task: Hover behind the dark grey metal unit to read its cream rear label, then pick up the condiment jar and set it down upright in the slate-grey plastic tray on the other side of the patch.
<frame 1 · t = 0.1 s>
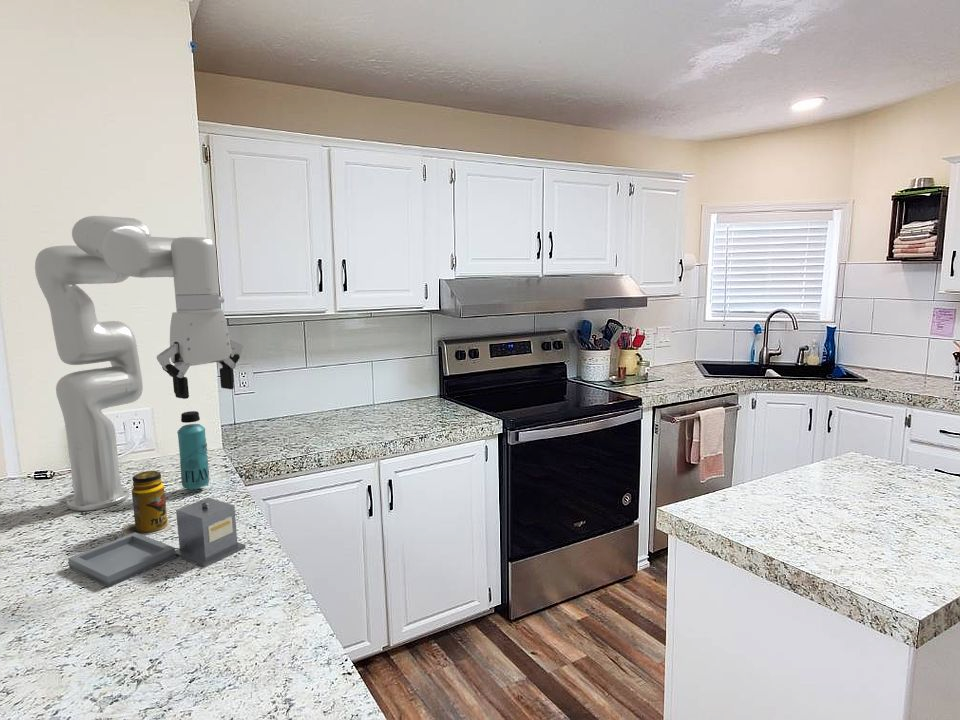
hand: (205, 392, 114), 31 cm above the worktop, fingers open, 9 cm apart
tray: (123, 562, 112), on the worktop
unit: (209, 551, 116), on the worktop
beverage bottle: (196, 490, 148), on the worktop
condiment: (147, 529, 127), on the worktop
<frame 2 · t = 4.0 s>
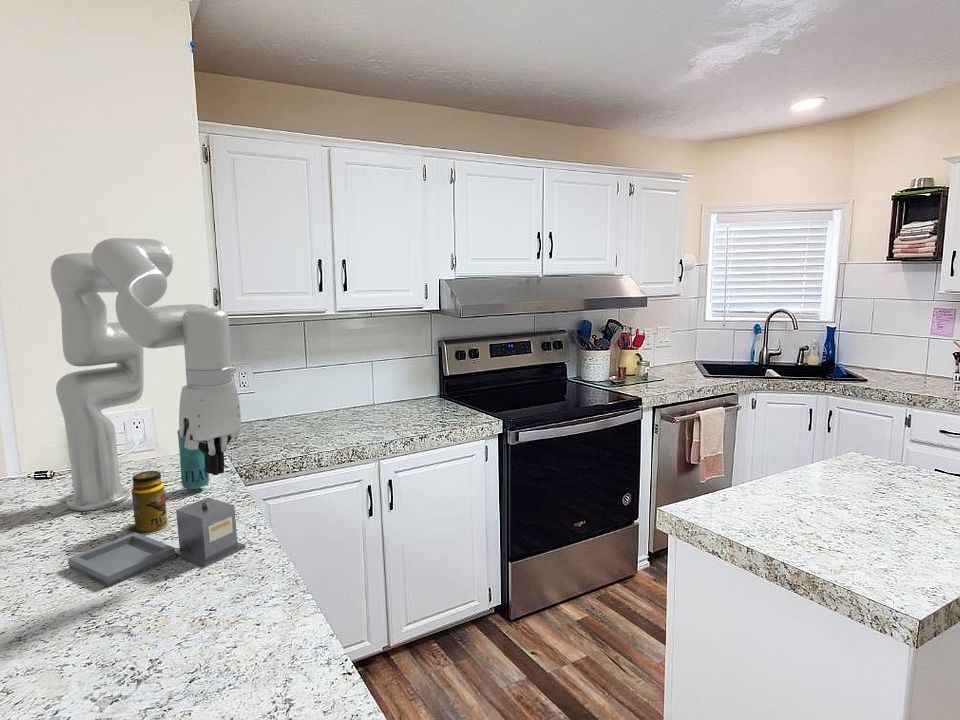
hand: (215, 472, 111), 17 cm above the worktop, fingers closed
nothing on the worktop moved.
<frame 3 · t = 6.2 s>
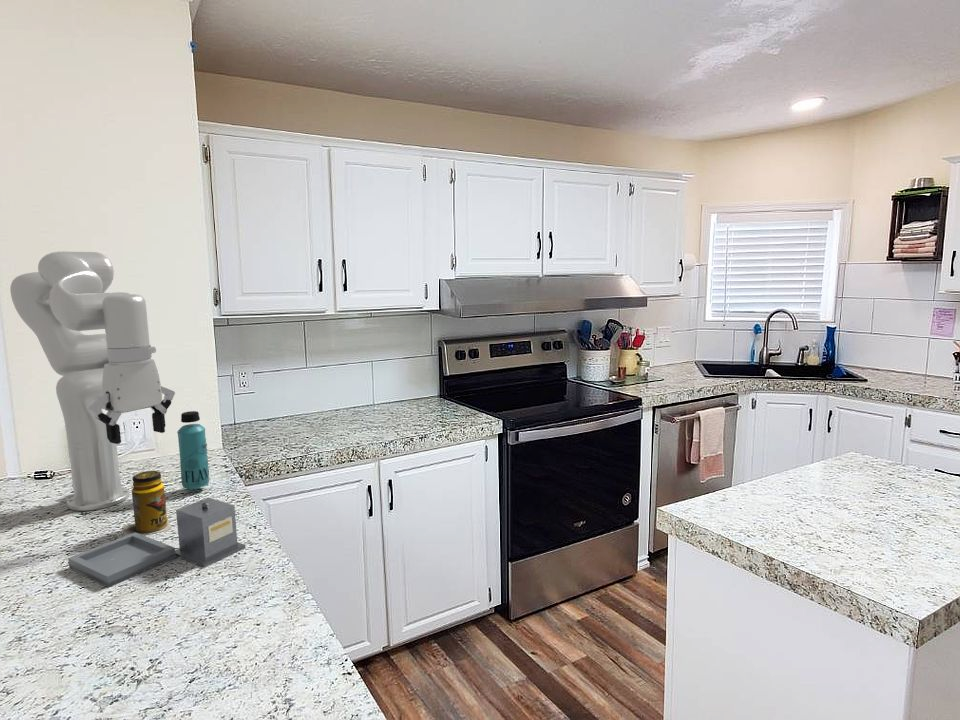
hand: (137, 437, 124), 20 cm above the worktop, fingers open, 8 cm apart
nothing on the worktop moved.
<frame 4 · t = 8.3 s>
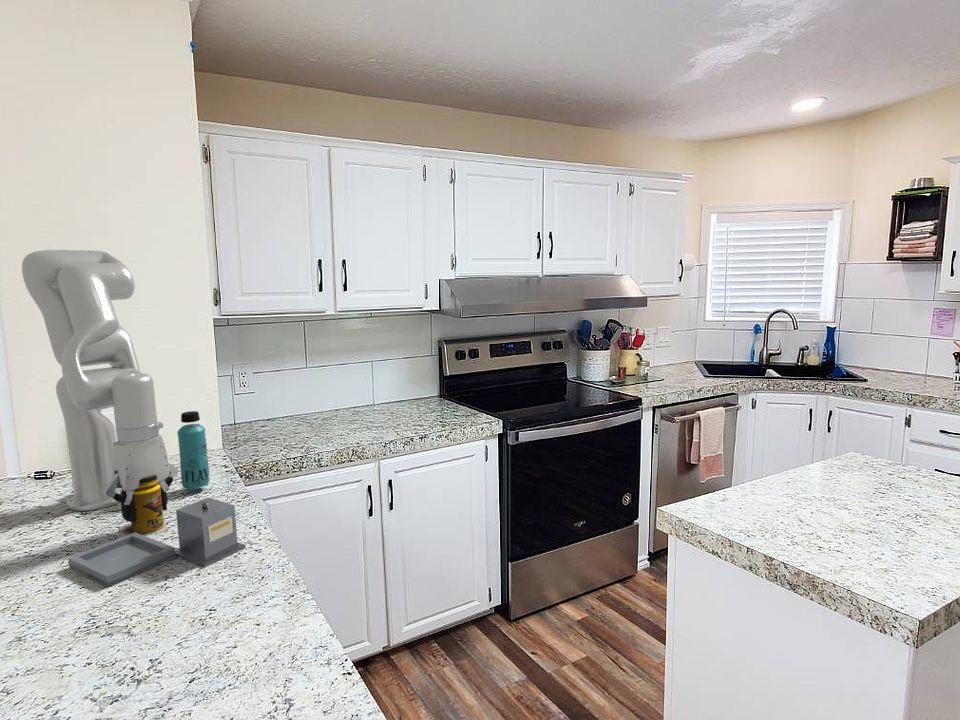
hand: (145, 514, 126), 3 cm above the worktop, fingers closed on condiment, 6 cm apart
condiment: (143, 530, 126), on the worktop, touching gripper
everything else where it was.
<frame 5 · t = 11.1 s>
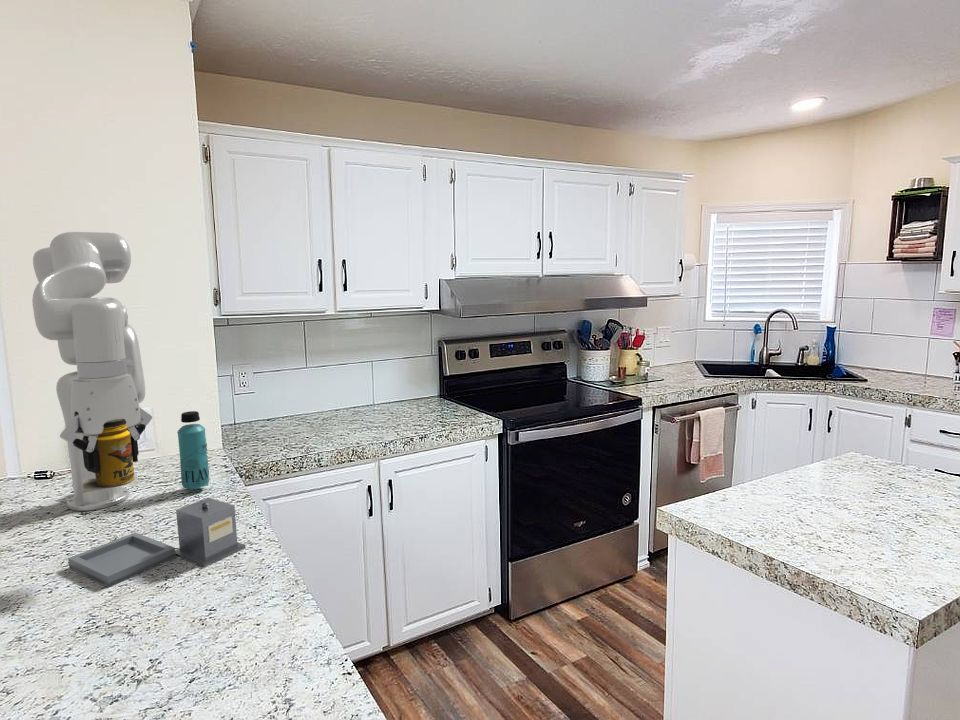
hand: (112, 465, 109), 19 cm above the worktop, fingers closed on condiment, 6 cm apart
condiment: (110, 483, 109), point 16 cm above the worktop, touching gripper
everything else where it was.
when the fingers open (5 cm above the worktop, at t = 14.0 s): condiment stays where it is, resting on tray.
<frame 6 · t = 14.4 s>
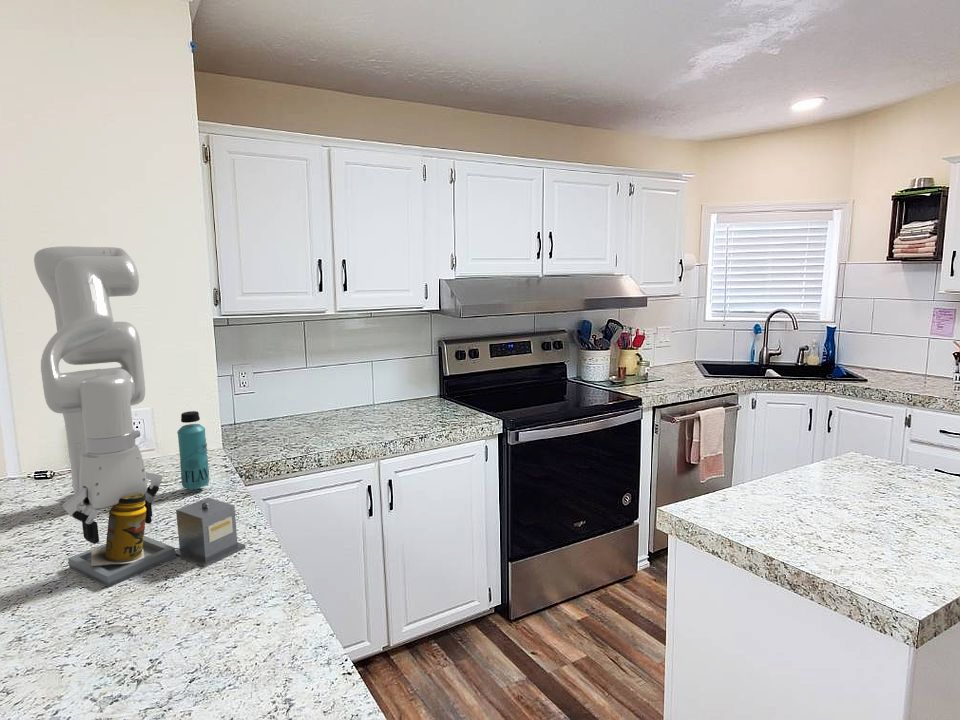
hand: (120, 531, 111), 6 cm above the worktop, fingers open, 9 cm apart
condiment: (118, 557, 111), point 1 cm above the worktop, touching tray
everything else where it was.
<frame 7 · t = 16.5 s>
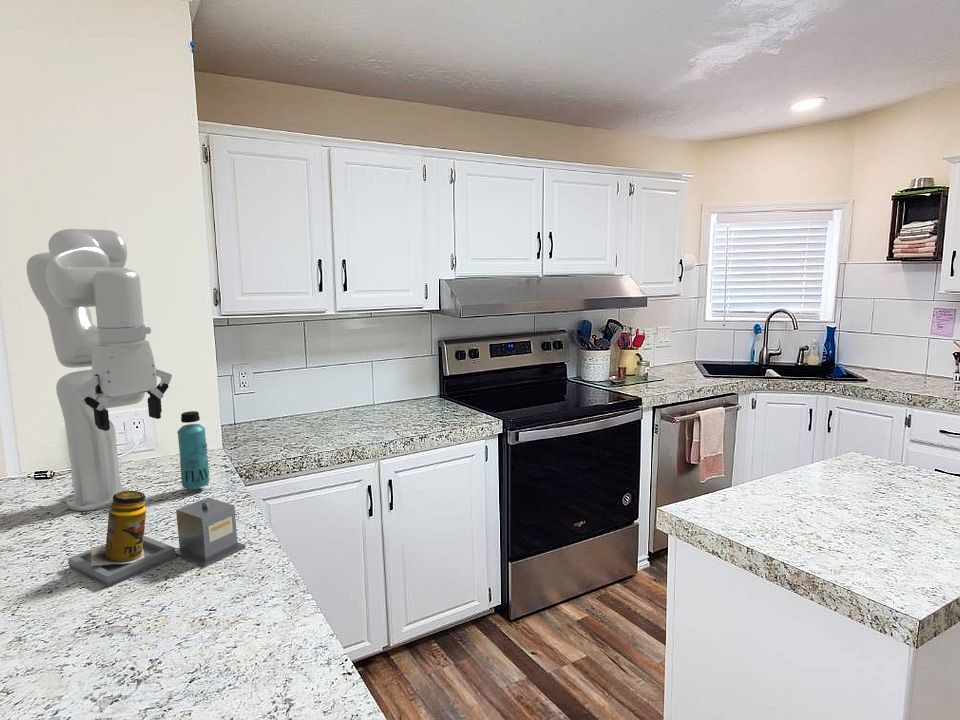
hand: (130, 423, 115), 25 cm above the worktop, fingers open, 9 cm apart
nothing on the worktop moved.
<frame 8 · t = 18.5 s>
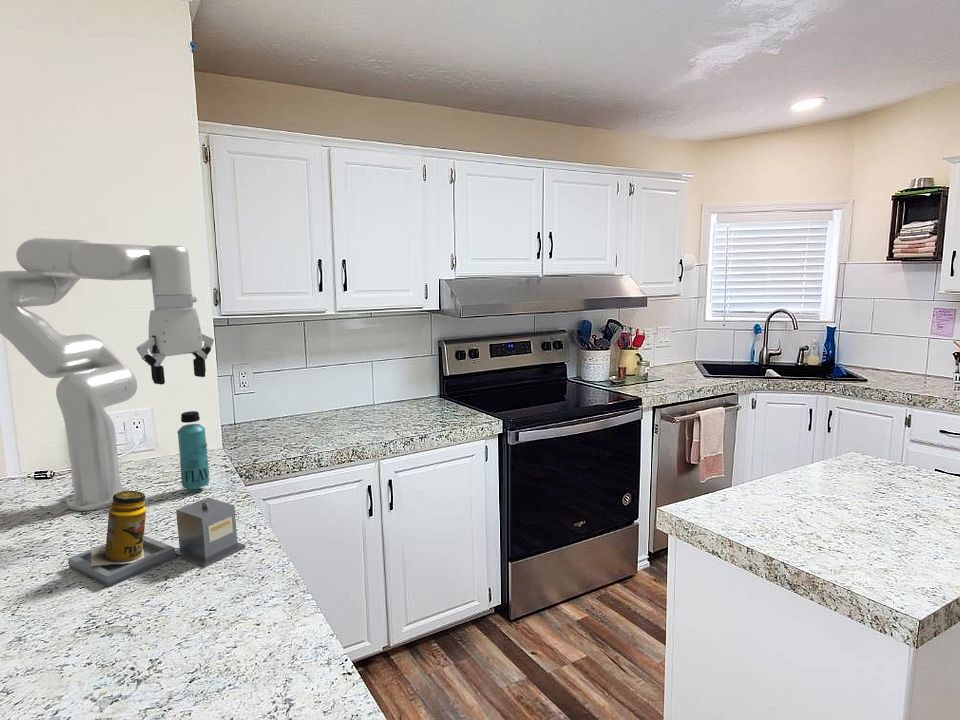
hand: (180, 380, 132), 30 cm above the worktop, fingers open, 9 cm apart
nothing on the worktop moved.
at the end: condiment inside the target area on the tray (0.8 cm from its centre), point 1.3 cm above the tray's base; condiment tilted 9°; the gripper is holding nothing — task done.
